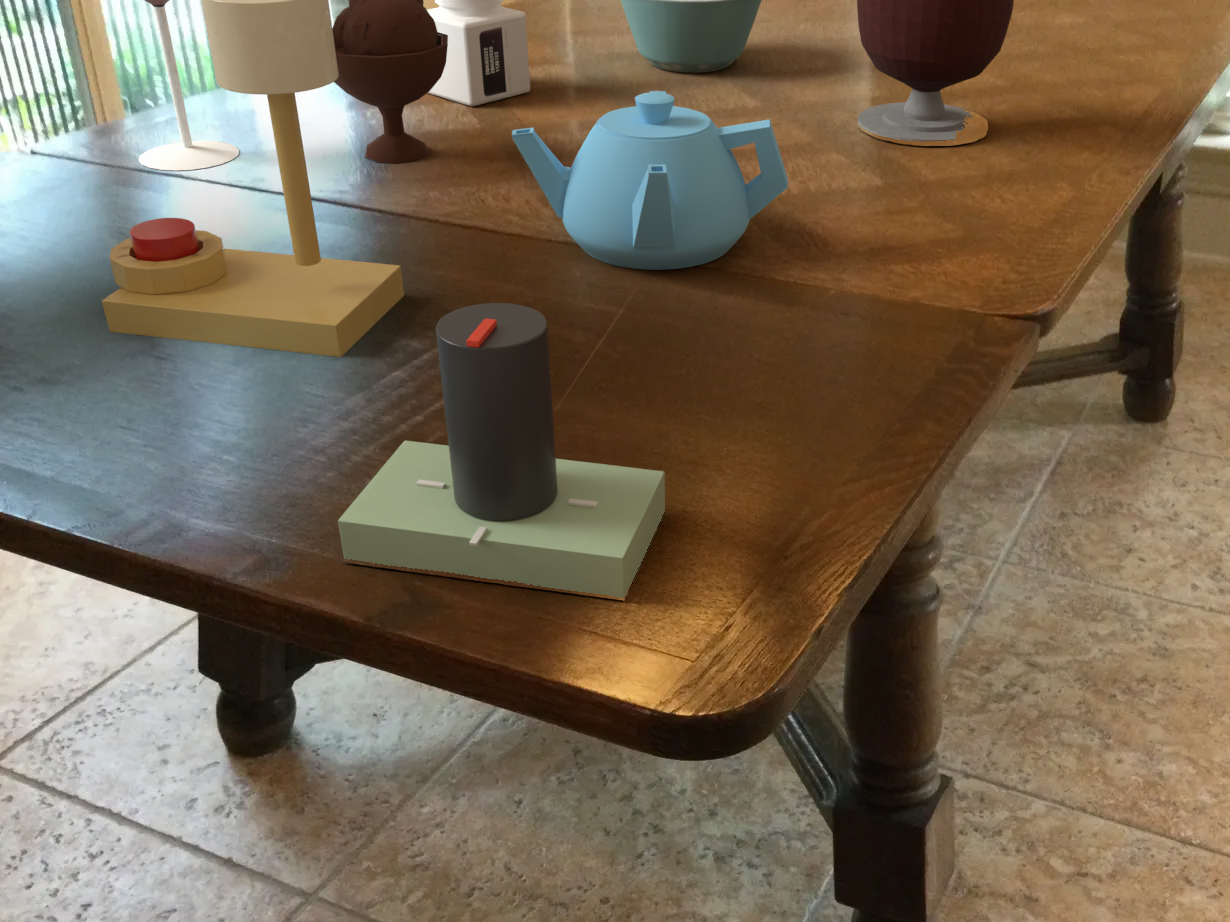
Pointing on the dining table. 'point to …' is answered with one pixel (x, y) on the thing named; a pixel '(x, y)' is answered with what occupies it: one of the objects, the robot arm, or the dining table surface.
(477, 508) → the dimmer knob
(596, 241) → the teapot
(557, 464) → the dimmer panel
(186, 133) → the wineglass
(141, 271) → the lamp base
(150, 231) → the lamp switch
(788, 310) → the dining table surface
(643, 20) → the bowl
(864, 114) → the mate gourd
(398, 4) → the ice cream bowl
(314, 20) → the lamp
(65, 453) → the dining table surface
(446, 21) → the container
